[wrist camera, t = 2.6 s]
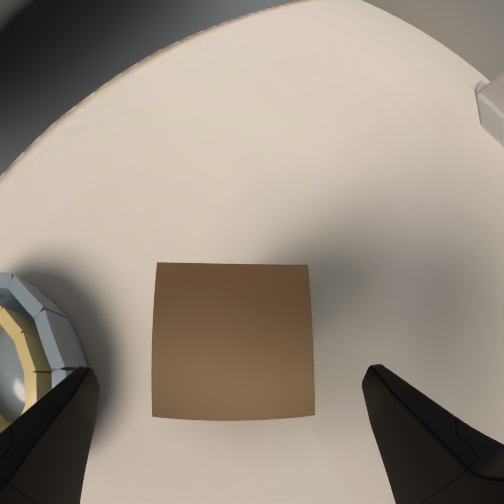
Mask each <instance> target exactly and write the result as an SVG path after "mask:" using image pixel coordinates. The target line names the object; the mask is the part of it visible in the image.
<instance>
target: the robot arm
mask: <svg viewBox="0 0 504 504" xmlns="http://www.w3.org/2000/svg"><path fill="white" fill-rule="evenodd" d="M362 389H363V393H364V398H365V402H366V406H367V411H368V416H369V420H370V424H371V427H372V430H373V433H374V436H375V439H376V442H377V445H378V448H379V451H380V454H381V457H382V460H383V463H384V466H385V470H386V473H387V476H388V479H389V482H390V486H391V489H392V492H393V496H394V499H395V503H396V504H504V445H503V444H502V443H500V442H498V441H496V440H494V439H492V438H490V437H488V436H486V435H484V434H483V433H481V432H479V431H477V430H476V429H474V428H472V427H471V426H469V425H468V424H466V423H464V422H463V421H461V420H460V419H459V418H457V417H454V415H453V414H451V413H450V412H448V411H447V410H446V409H444V408H443V407H441V406H440V405H438V404H437V403H435V402H434V401H433V400H431V399H430V398H428V397H427V396H426V395H424V394H423V393H421V392H420V391H418V390H417V389H416V388H414V387H413V386H411V385H410V384H409V383H407V382H406V381H404V380H403V379H401V378H400V377H399V376H397V375H396V374H394V373H393V372H392V371H390V370H389V369H387V368H386V367H385V366H383V365H381V364H376V365H371V366H370V367H369V368H368V370H367V372H366V374H365V377H364V379H363V381H362ZM98 396H99V383H98V381H97V378H96V376H95V374H94V371H93V369H92V368H91V367H87V366H79V367H78V368H76V369H75V370H74V371H73V372H72V373H70V374H69V375H68V376H67V377H66V378H64V379H63V380H62V381H61V382H60V383H58V384H57V385H56V386H55V387H54V388H52V389H51V390H50V391H49V392H48V393H46V394H45V395H44V396H43V397H42V398H41V399H39V400H38V401H37V402H36V403H35V404H33V405H32V406H31V407H30V408H29V409H28V410H26V411H25V412H24V413H23V414H22V415H21V416H19V417H18V418H17V419H16V420H15V421H14V422H12V424H10V425H9V426H8V427H7V428H5V429H4V430H3V431H2V432H1V433H0V504H80V499H81V492H82V486H83V480H84V474H85V469H86V463H87V458H88V454H89V449H90V444H91V440H92V435H93V431H94V425H95V417H96V410H97V402H98Z"/></svg>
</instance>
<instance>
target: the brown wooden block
mask: <svg viewBox="0 0 504 504" xmlns="http://www.w3.org/2000/svg"><path fill="white" fill-rule="evenodd" d="M312 415H315V390H314V358H313V336H312V318H311V303H310V289H309V276H308V265H265V264H206V263H162V262H157V269H156V281H155V294H154V310H153V331H152V417H161V418H173V419H188V420H215V421H239V420H267V419H282V418H294V417H304V416H312Z"/></svg>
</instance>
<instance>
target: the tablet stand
mask: <svg viewBox="0 0 504 504" xmlns="http://www.w3.org/2000/svg"><path fill="white" fill-rule="evenodd" d="M475 96H476V101H477V107H478V113H479V119H480V125H481V126H482V127H483V129H485V130H486V131H487V132H488V133H489V134H490V135H491V136H492V137H493V138H494V139H495V140H497V141H498V142H499V143H500V144H501V145H502V146H503V147H504V72H503V73H502V74H501V75H499V76H498V77H496V78H495V79H494V80H493V81H491V82H490V83H488V84H487V85H486V84H485V83H483V82H482V81H479V82H478V83H477V87H476V90H475Z"/></svg>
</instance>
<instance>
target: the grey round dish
mask: <svg viewBox="0 0 504 504" xmlns="http://www.w3.org/2000/svg"><path fill="white" fill-rule="evenodd" d="M79 366H87V367H88V364H87V360H86V356H85V354H84V351H83V348H82V345H81V342H80V340H79V338H78V336H77V334H76V332H75V330H74V328H73V326H72V325H71V323H70V321H69V320H68V318H67V317H66V315H65V314H64V313H63V311H62V310H61V309H60V308H59V307H58V306H57V305H56V304H55V303H54V302H53V301H52V300H50V299H49V298H48V297H47V296H45V295H44V294H43V293H42V292H41V291H40V290H39V289H38V288H37V287H35V286H33V285H31V284H30V283H28V282H26V281H24V280H22V279H21V278H19V277H17V276H15V275H13V274H9V273H0V433H1V432H2V431H3V430H4V429H5V428H7V427H8V426H9V425H10V424H12V422H14V421H15V420H16V419H17V418H18V417H19V416H21V415H22V414H23V413H24V412H25V411H26V410H28V409H29V408H30V407H31V406H32V405H33V404H35V403H36V402H37V401H38V400H39V399H41V398H42V397H43V396H44V395H45V394H46V393H48V392H49V391H50V390H51V389H52V388H54V387H55V386H56V385H57V384H58V383H60V382H61V381H62V380H63V379H64V378H66V377H67V376H68V375H69V374H70V373H72V372H73V371H74V370H75V369H76V368H78V367H79Z"/></svg>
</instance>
